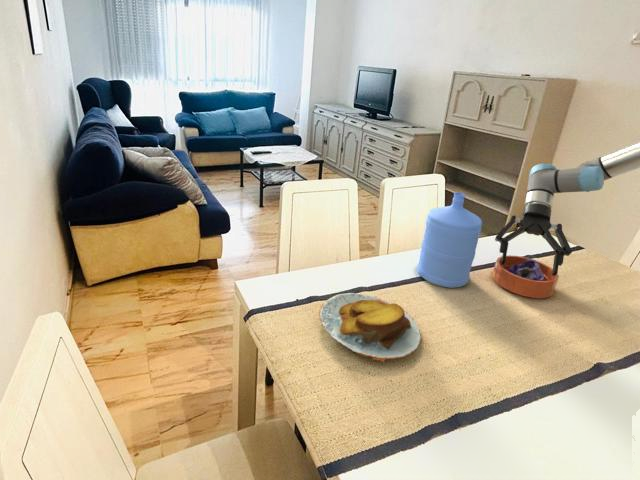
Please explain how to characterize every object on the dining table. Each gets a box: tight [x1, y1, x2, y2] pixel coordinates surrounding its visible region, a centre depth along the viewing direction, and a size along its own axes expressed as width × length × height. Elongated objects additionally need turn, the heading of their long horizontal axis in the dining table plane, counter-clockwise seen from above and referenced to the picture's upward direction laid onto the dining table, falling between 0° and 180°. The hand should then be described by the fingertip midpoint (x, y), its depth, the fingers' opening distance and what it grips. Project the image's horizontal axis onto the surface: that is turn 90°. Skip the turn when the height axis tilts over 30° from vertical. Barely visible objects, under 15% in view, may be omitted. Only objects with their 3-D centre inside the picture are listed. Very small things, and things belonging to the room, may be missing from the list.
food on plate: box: [318, 292, 422, 362], centre depth 97 cm, size 25×25×7 cm
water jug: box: [416, 192, 483, 289], centre depth 120 cm, size 16×16×28 cm
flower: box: [509, 258, 544, 281], centre depth 120 cm, size 9×9×10 cm
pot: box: [491, 255, 559, 299], centre depth 121 cm, size 17×17×6 cm
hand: (528, 268), depth 117 cm, fingers open, 13 cm apart
